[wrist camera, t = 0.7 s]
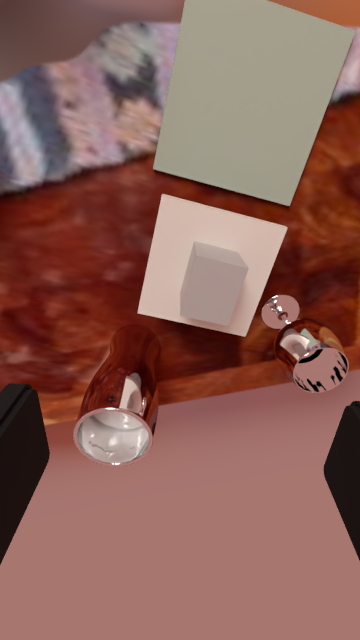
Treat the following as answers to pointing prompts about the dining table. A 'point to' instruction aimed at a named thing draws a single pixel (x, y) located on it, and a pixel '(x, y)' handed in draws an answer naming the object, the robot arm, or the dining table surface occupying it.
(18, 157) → the dining table surface
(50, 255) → the dining table surface
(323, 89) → the mat
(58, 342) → the dining table surface
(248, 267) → the cover
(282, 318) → the wineglass
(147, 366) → the beer glass
